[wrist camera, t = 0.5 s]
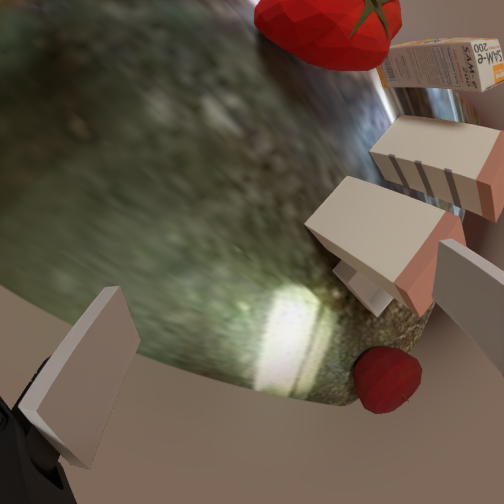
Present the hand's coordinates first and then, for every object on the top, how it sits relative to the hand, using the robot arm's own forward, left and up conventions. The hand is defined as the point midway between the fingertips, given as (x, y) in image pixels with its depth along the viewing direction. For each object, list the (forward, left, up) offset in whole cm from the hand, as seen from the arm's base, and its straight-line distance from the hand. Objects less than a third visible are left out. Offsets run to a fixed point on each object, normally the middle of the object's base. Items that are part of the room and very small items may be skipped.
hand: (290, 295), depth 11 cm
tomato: (-8, +17, -16) cm, 25 cm away
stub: (+10, +10, -16) cm, 22 cm away
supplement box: (0, +27, -16) cm, 32 cm away
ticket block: (+8, +21, -16) cm, 28 cm away
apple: (+38, +5, -16) cm, 41 cm away
